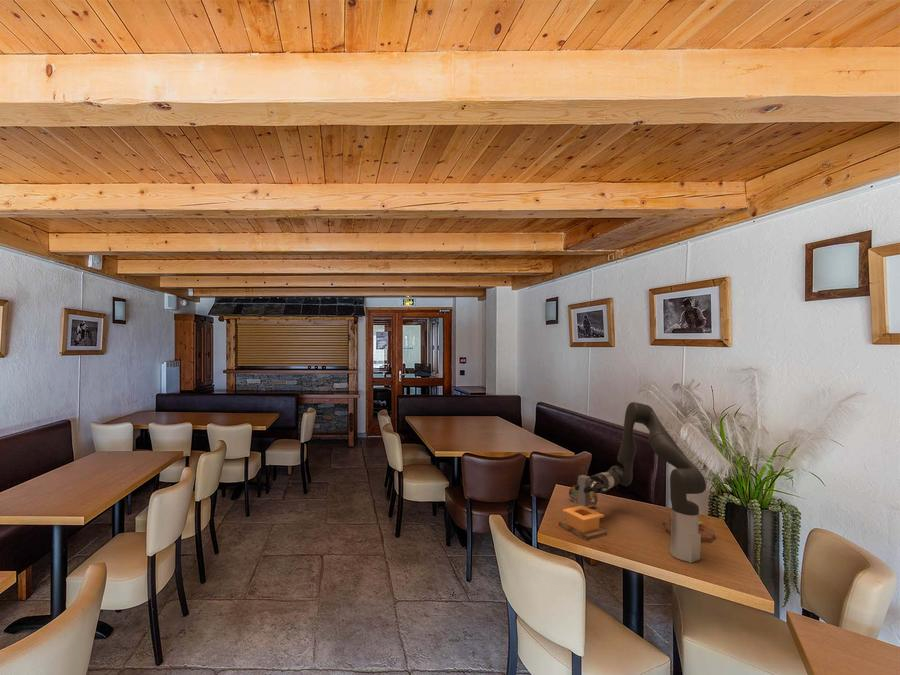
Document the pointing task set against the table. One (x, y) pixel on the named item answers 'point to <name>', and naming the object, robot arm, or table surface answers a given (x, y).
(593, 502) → the tin
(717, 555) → the table surface
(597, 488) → the robot arm
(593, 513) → the orange square collar
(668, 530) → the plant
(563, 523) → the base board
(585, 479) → the dark grey rectangular block
